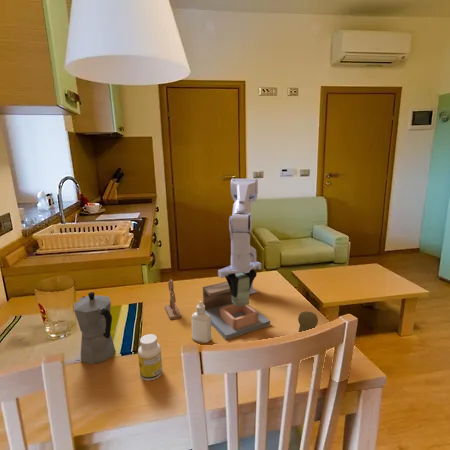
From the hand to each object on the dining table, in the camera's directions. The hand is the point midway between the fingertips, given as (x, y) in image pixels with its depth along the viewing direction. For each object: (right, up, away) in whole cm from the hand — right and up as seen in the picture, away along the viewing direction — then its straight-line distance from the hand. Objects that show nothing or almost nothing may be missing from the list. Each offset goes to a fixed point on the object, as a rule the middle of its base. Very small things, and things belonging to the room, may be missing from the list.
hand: (240, 294), depth 97 cm
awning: (-5, -7, +9) cm, 12 cm away
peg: (0, -3, +1) cm, 3 cm away
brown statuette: (-23, -9, +9) cm, 26 cm away
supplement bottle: (-23, -15, -20) cm, 34 cm away
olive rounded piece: (+18, -13, -11) cm, 25 cm away
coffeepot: (-39, -14, -13) cm, 43 cm away
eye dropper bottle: (-12, -12, -6) cm, 18 cm away
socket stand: (-2, -9, +5) cm, 10 cm away
